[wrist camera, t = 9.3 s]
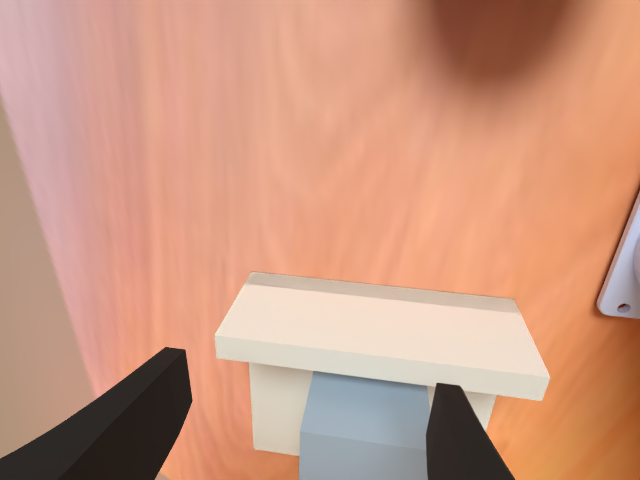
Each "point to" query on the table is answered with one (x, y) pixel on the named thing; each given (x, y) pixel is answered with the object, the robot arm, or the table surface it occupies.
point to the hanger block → (363, 429)
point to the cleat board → (371, 345)
